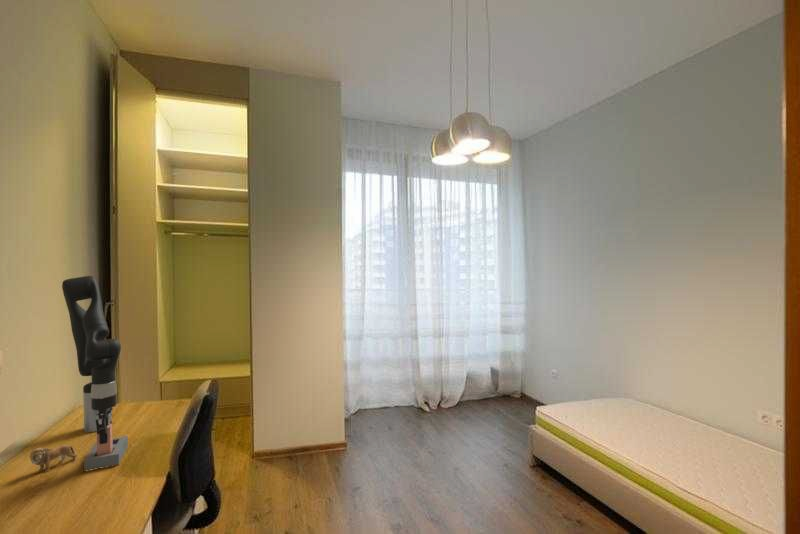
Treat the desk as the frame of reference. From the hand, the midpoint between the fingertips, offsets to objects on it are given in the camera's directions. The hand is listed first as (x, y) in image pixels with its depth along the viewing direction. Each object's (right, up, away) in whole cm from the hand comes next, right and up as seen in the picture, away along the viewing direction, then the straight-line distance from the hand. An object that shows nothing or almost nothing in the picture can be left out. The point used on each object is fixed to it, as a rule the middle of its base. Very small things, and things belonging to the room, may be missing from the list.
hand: (104, 440), depth 146 cm
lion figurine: (-16, -9, -3) cm, 19 cm away
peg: (0, -5, 0) cm, 5 cm away
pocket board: (-2, -8, +4) cm, 9 cm away
